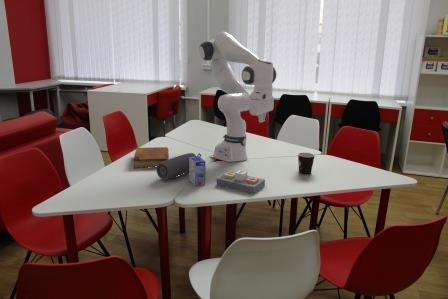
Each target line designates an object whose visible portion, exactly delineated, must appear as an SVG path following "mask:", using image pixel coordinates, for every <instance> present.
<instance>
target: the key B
mask: <svg viewBox="0 0 448 299" xmlns="http://www.w3.org/2000/svg"><path fill="white" fill-rule="evenodd" d="M234 173H235V180H238V181H242V182H243V181H245V180H246V179H247V176H248V171H247V170H246V171H245V170H242V169H241V170H240V169H239V170H237V171H235V172H234Z"/></svg>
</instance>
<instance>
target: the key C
mask: <svg viewBox="0 0 448 299" xmlns="http://www.w3.org/2000/svg"><path fill="white" fill-rule="evenodd" d="M254 177H255V176H251V177H249V178H247V179H246V182H247V183H251V184H256V183H257V182H258V178H259V177H256V178H254Z"/></svg>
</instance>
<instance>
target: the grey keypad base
mask: <svg viewBox="0 0 448 299" xmlns="http://www.w3.org/2000/svg"><path fill="white" fill-rule="evenodd" d="M229 172H230V173H234V172H233V171H229ZM249 177H252V176H250V175H247V178H249ZM253 177H254V178H258V182H257V183H256V184H251V183H247V182H246V180H245V181H243V182H242V181H238V180H235V178H233V179H229V178H225V177H224V174H222V175H221V176H219V177H217V178H216V186H217V185H218V186H217V187H222V188H227V189H230V190H233V191H238V192H242V193H247V194H251V195H255V194H257V192H259V191H260V190H262V189H263V188H264V187H265V186H266V179H265V178H261V177H260V178H259V177H255V176H253Z"/></svg>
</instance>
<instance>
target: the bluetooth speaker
mask: <svg viewBox="0 0 448 299" xmlns="http://www.w3.org/2000/svg"><path fill="white" fill-rule="evenodd" d="M193 156H197V155H196V154H195V153H193V152H188V153H184V154H180V155H176V156H174V157H172V158H169V159H168V160H166V161H163V162H161V163H159V164H158V165H157V168H155V169H156V170H155V171H156V174H157V176H158V177H159V178H160V179H162V180H167V179H172V178H171V177H176V176H178V175H181V174H183V173H187V172H189V157H193ZM176 178H177V177H176Z"/></svg>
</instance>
